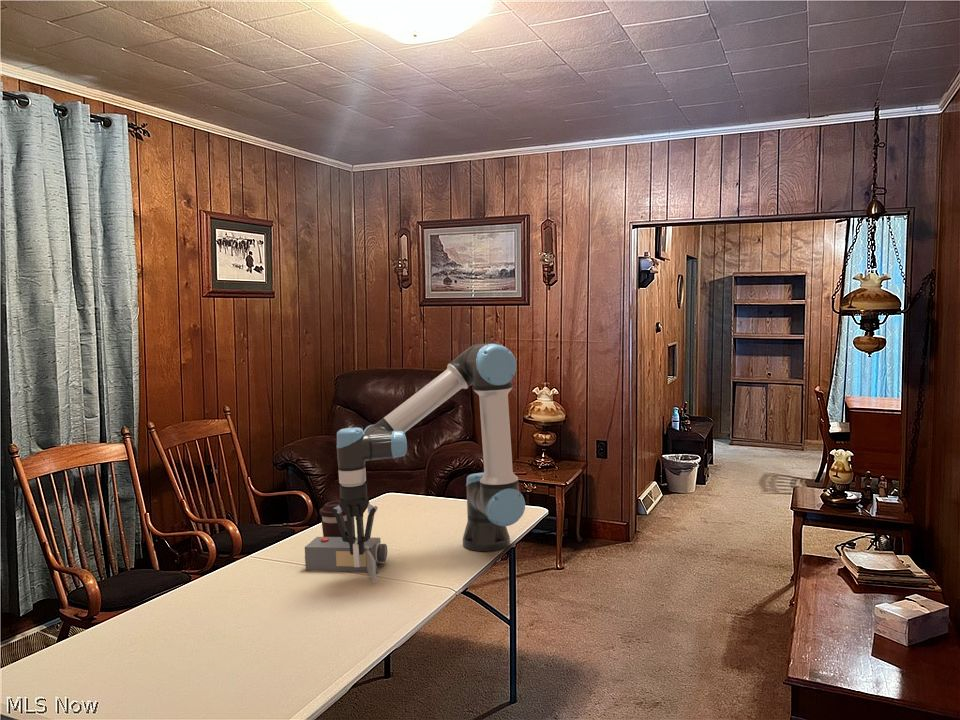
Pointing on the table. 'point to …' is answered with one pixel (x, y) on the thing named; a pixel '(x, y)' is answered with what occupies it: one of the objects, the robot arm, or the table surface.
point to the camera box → (340, 554)
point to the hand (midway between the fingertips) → (358, 565)
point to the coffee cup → (331, 520)
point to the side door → (371, 566)
